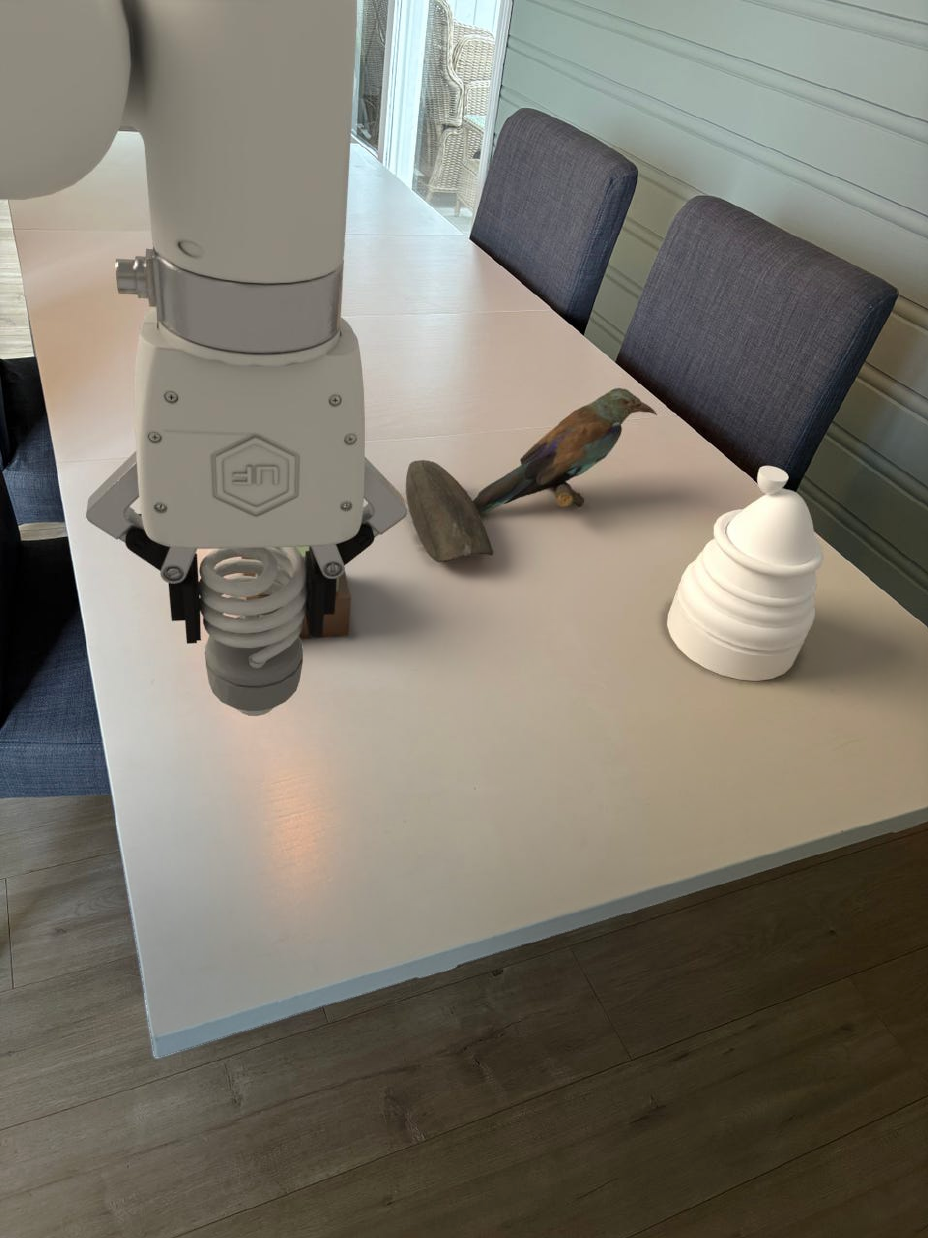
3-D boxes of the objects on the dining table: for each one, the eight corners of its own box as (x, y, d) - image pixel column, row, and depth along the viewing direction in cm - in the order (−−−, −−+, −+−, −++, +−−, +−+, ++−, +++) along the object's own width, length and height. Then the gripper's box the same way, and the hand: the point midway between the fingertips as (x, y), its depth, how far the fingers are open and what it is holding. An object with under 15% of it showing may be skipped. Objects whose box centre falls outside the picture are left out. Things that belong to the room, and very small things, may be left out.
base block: (247, 642, 81) (246, 603, 78) (242, 579, 87) (240, 541, 84) (349, 636, 83) (351, 598, 80) (335, 575, 90) (337, 538, 87)
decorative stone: (496, 572, 94) (502, 539, 91) (437, 578, 91) (441, 545, 89) (444, 482, 105) (448, 450, 103) (390, 486, 103) (393, 454, 101)
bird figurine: (492, 538, 96) (607, 377, 90) (450, 491, 103) (554, 337, 97) (569, 570, 106) (678, 426, 100) (526, 525, 112) (625, 387, 106)
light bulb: (197, 686, 55) (186, 519, 47) (290, 670, 57) (293, 508, 49) (216, 755, 51) (207, 587, 43) (314, 736, 53) (322, 571, 45)
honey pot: (655, 653, 87) (712, 493, 75) (678, 580, 96) (732, 428, 85) (790, 698, 84) (870, 539, 73) (800, 618, 94) (872, 467, 82)
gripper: (12, 323, 33) (77, 681, 44) (470, 341, 37) (422, 662, 49) (36, 249, 38) (89, 585, 50) (434, 273, 43) (398, 576, 54)
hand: (254, 621), depth 49 cm, fingers closed on light bulb, 5 cm apart
